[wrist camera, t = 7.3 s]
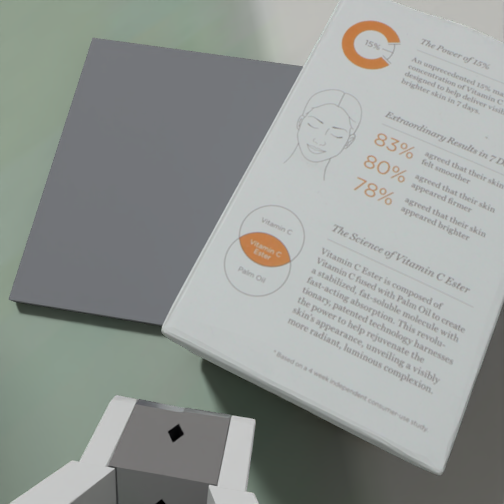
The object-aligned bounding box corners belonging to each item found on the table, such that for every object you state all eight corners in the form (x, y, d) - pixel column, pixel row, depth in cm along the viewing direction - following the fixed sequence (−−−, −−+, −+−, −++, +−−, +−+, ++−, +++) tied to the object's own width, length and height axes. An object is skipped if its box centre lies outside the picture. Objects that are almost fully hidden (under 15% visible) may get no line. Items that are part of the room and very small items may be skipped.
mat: (14, 301, 19) (8, 299, 18) (96, 45, 23) (92, 37, 22) (453, 374, 18) (459, 373, 18) (463, 95, 22) (467, 88, 21)
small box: (378, 450, 17) (490, 164, 20) (446, 484, 11) (592, 67, 14) (186, 349, 18) (322, 93, 21) (150, 330, 12) (349, -25, 15)
